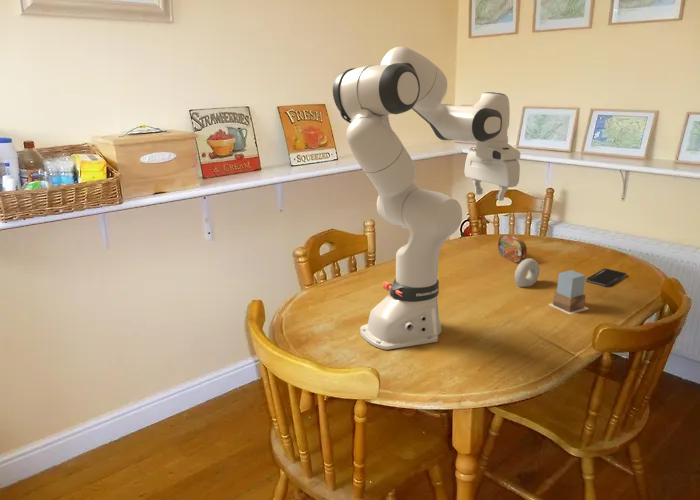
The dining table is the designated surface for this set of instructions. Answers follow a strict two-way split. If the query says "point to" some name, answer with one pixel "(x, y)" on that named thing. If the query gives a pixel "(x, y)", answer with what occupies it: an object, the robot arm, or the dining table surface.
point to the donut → (522, 270)
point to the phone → (606, 277)
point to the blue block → (571, 284)
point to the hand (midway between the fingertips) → (488, 197)
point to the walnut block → (569, 302)
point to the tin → (512, 248)
